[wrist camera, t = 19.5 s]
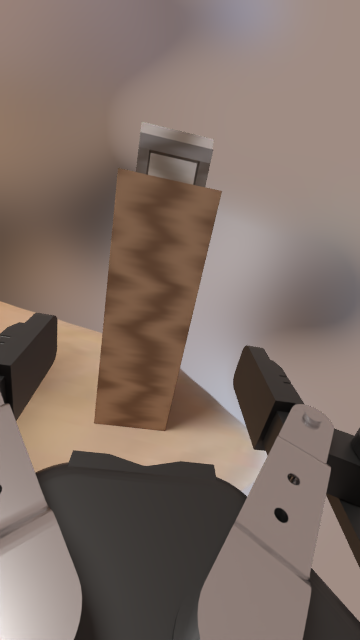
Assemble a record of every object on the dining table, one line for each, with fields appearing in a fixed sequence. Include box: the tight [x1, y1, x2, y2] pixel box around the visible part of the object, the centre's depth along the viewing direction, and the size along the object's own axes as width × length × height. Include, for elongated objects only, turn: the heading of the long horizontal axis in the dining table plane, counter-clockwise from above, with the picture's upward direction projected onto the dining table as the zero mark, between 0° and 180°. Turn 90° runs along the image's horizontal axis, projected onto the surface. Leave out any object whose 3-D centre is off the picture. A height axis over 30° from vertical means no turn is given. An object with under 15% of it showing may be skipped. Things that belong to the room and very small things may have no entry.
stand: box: [94, 122, 222, 431], centre depth 38 cm, size 10×12×37 cm
